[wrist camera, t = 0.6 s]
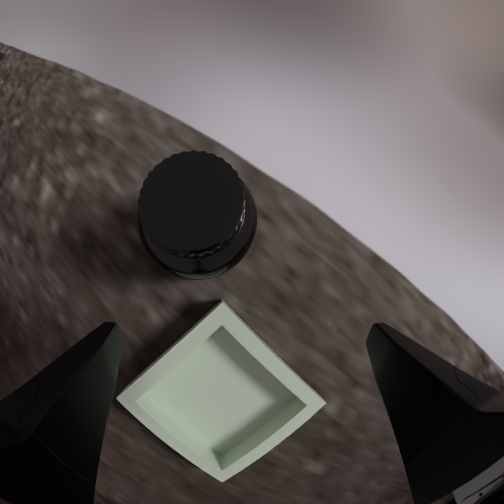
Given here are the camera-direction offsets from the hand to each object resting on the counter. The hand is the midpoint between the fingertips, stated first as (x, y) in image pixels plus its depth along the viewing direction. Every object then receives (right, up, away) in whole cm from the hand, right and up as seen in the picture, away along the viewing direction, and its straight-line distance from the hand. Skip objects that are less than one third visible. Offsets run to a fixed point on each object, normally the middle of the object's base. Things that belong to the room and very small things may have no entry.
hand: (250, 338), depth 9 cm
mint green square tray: (-3, -10, +13) cm, 17 cm away
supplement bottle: (-4, +4, +15) cm, 16 cm away
